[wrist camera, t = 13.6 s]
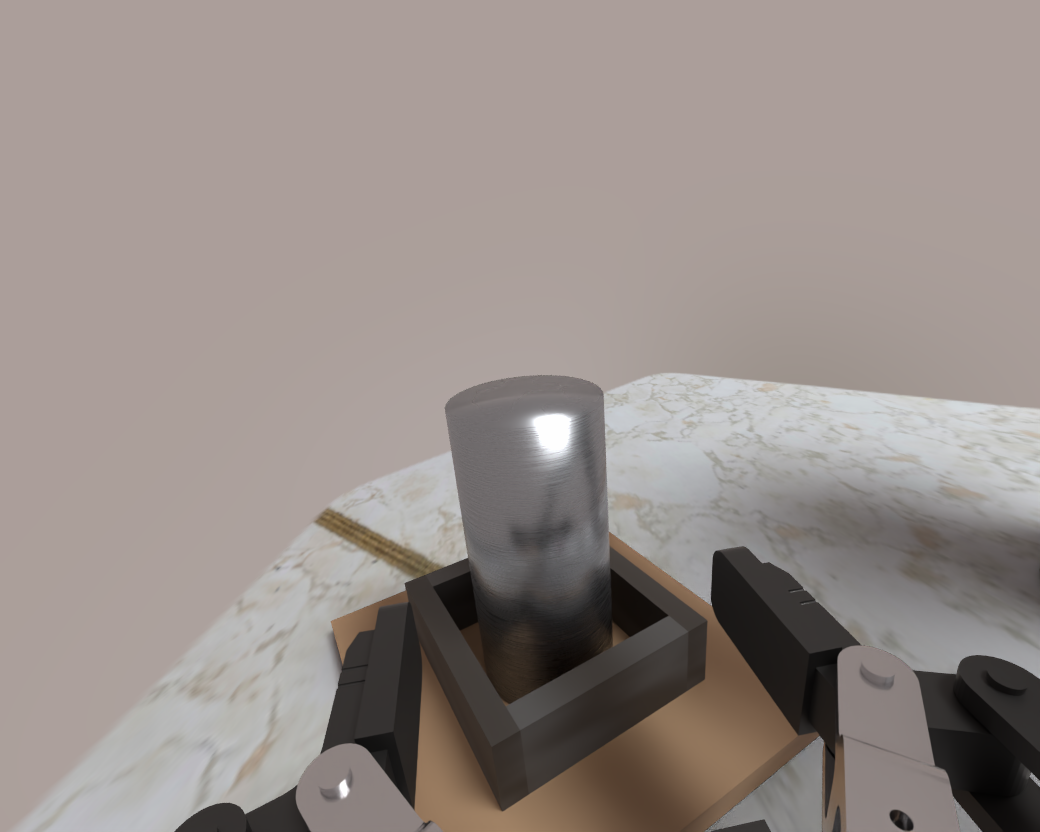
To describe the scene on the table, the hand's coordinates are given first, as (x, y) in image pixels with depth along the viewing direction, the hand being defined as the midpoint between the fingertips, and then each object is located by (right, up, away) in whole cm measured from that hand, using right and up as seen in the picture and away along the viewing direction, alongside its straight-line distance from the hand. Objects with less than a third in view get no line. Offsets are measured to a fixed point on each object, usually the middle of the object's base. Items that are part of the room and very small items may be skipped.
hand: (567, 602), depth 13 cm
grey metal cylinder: (0, -6, +9) cm, 11 cm away
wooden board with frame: (0, -7, +9) cm, 11 cm away
